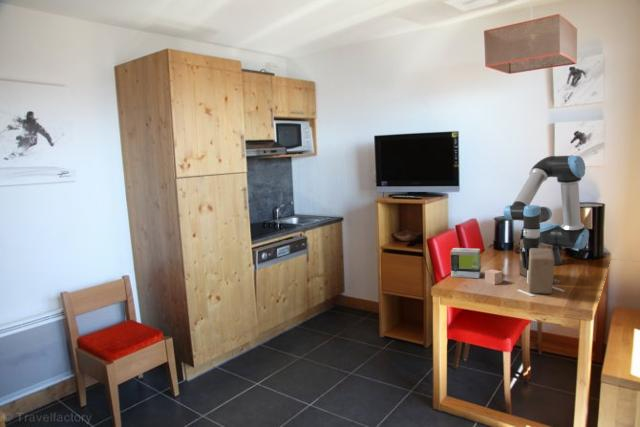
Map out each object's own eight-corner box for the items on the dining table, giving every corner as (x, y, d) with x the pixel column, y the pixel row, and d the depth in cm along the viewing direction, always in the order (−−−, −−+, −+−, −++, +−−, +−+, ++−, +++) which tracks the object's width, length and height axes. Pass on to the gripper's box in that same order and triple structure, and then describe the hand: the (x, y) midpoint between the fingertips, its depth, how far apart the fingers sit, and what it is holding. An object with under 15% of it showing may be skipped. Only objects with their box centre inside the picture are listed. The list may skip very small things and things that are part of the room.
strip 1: (519, 290, 221) (519, 289, 221) (534, 296, 211) (534, 295, 211) (517, 290, 220) (517, 289, 220) (532, 296, 211) (532, 295, 211)
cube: (492, 280, 239) (492, 269, 238) (502, 282, 234) (502, 271, 233) (484, 282, 236) (484, 271, 235) (494, 284, 231) (494, 273, 230)
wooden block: (552, 295, 212) (554, 259, 203) (528, 293, 215) (530, 258, 206) (550, 282, 220) (552, 247, 211) (527, 281, 223) (529, 247, 215)
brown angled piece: (531, 273, 248) (532, 237, 245) (560, 282, 229) (561, 244, 226) (519, 274, 246) (519, 239, 243) (547, 284, 227) (548, 246, 224)
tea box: (480, 274, 251) (481, 248, 249) (479, 279, 242) (479, 252, 240) (453, 272, 257) (453, 247, 255) (450, 277, 248) (450, 250, 246)
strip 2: (548, 285, 226) (548, 284, 225) (564, 291, 216) (564, 290, 216) (545, 285, 225) (545, 285, 225) (561, 291, 216) (561, 290, 216)
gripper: (515, 235, 226) (514, 280, 229) (534, 239, 214) (533, 287, 217) (528, 233, 228) (526, 278, 231) (547, 238, 216) (546, 285, 219)
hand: (530, 282), depth 224 cm, fingers closed
